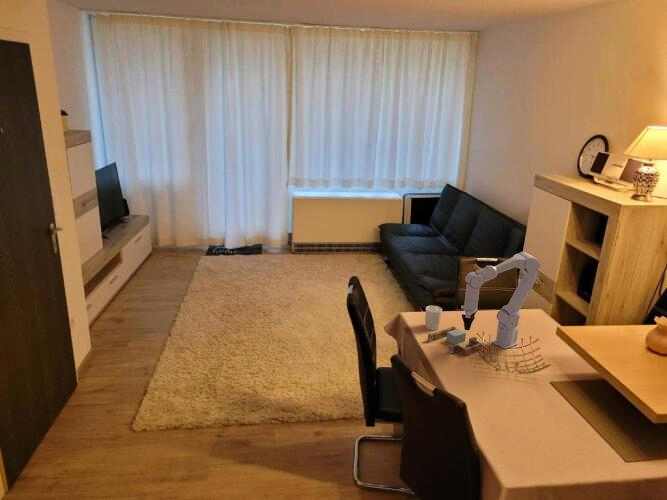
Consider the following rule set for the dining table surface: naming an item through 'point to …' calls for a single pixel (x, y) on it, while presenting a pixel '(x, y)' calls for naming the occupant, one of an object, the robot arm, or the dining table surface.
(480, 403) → the dining table surface
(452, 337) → the block
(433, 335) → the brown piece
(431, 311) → the white cup
